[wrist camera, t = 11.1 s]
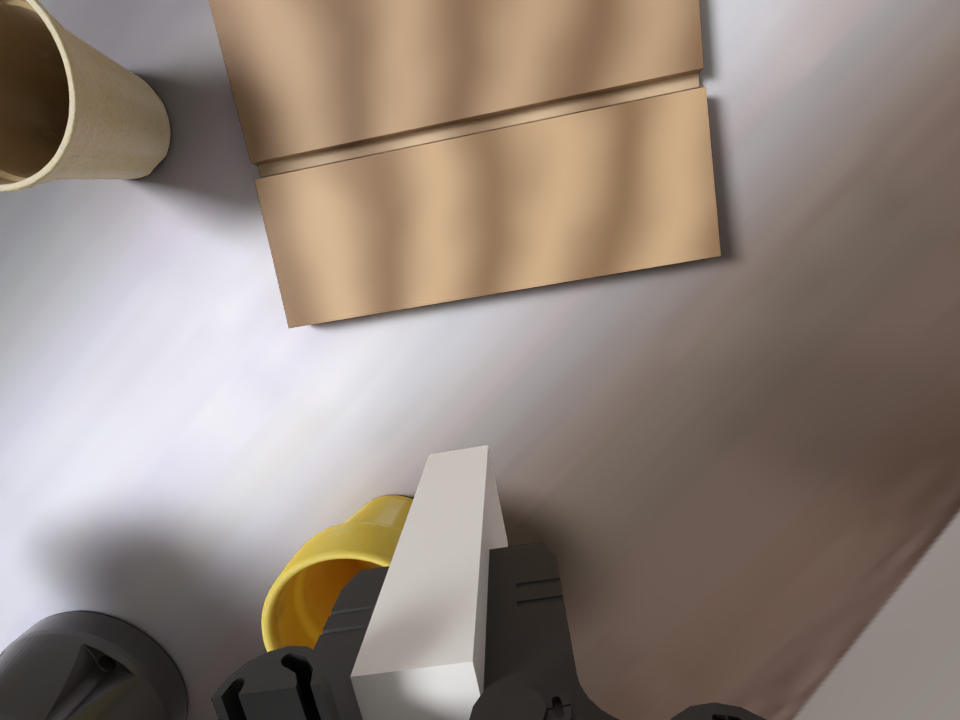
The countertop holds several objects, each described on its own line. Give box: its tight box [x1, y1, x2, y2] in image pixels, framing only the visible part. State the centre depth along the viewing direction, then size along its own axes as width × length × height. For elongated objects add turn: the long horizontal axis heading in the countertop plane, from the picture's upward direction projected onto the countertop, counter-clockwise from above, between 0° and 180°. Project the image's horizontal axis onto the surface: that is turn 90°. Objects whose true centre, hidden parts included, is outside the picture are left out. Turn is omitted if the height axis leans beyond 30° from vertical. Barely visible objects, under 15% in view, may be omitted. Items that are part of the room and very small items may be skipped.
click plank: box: [255, 87, 721, 328], centre depth 29 cm, size 26×9×1 cm, turn 100°
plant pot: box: [261, 495, 413, 652], centre depth 31 cm, size 10×10×10 cm
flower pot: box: [0, 0, 170, 192], centre depth 26 cm, size 9×9×9 cm
